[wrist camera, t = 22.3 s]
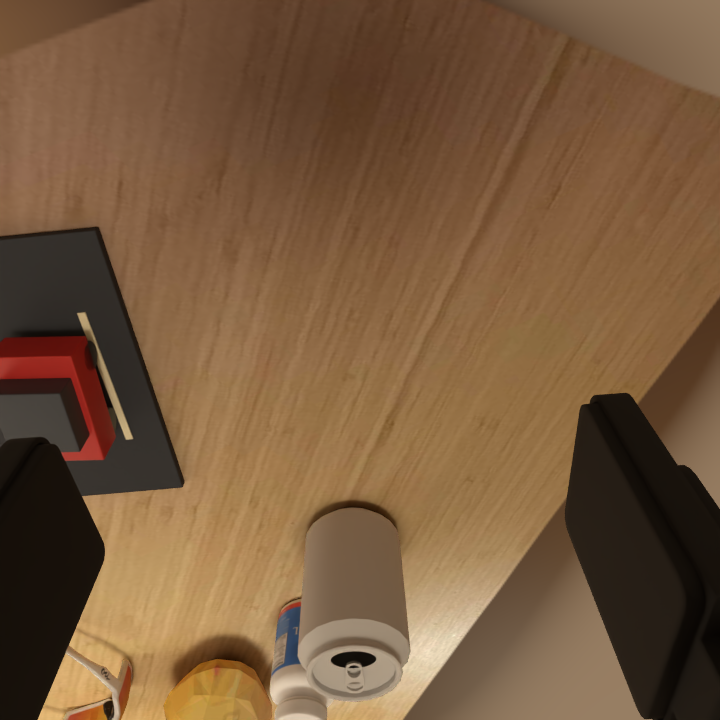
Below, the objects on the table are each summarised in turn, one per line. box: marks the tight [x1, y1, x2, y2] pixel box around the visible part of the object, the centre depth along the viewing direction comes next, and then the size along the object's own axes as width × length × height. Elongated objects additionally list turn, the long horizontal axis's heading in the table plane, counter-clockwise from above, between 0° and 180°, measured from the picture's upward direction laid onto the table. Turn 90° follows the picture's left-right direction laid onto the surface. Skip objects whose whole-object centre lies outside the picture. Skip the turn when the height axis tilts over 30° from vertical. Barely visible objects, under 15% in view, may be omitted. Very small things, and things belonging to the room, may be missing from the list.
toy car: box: [0, 336, 117, 461], centre depth 37 cm, size 8×5×5 cm
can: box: [297, 507, 410, 702], centre depth 43 cm, size 8×8×12 cm
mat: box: [0, 227, 184, 496], centre depth 40 cm, size 20×12×1 cm, turn 5°
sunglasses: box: [63, 646, 133, 720], centre depth 56 cm, size 14×15×5 cm
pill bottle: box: [270, 599, 334, 720], centre depth 50 cm, size 6×5×10 cm
